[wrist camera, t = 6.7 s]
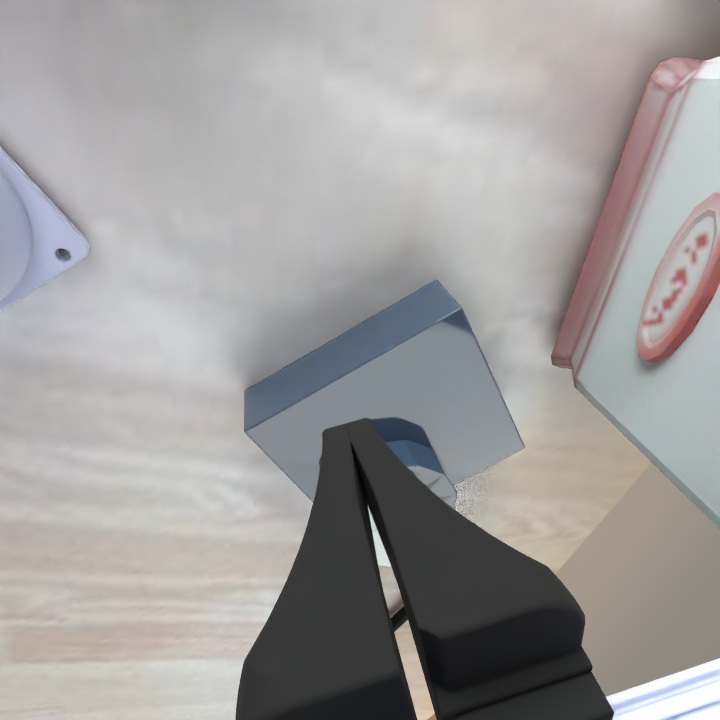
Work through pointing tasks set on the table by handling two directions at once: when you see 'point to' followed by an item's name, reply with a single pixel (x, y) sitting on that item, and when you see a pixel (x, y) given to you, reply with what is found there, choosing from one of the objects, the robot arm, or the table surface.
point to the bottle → (659, 286)
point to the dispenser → (391, 396)
